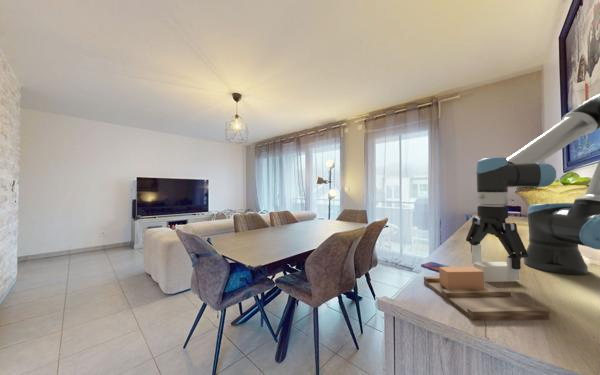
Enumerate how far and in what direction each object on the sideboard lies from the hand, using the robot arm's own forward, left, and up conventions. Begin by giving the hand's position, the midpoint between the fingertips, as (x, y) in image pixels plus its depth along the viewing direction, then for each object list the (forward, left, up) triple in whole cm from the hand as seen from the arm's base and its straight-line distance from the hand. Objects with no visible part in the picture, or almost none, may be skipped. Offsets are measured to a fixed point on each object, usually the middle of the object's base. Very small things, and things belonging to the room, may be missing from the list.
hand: (493, 270), depth 71 cm
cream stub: (0, 0, -3) cm, 3 cm away
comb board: (+15, +12, -3) cm, 19 cm away
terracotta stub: (+15, +7, -2) cm, 17 cm away
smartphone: (+10, -8, -3) cm, 13 cm away
